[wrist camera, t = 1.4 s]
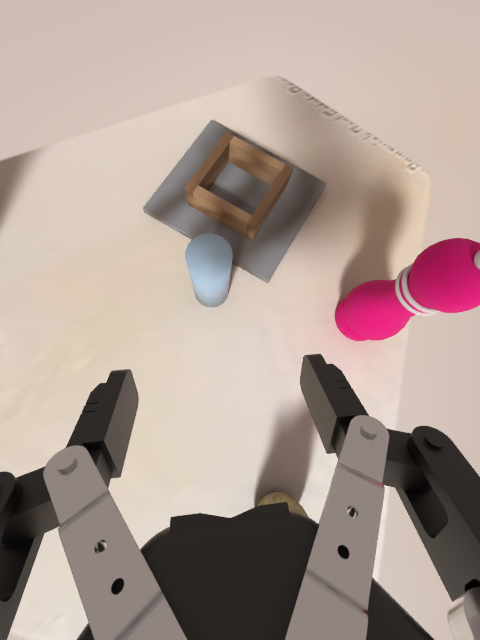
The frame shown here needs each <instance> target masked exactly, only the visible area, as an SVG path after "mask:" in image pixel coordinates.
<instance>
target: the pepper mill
mask: <svg viewBox="0 0 480 640" xmlns="http://www.w3.org/2000/svg"><path fill="white" fill-rule="evenodd" d="M479 305H480V243H478V242H475V241H472V240H469V239H462V238H453V239H448V240H443V241H440V242H438V243H436V244H433V245H431V246H429V247H428V248H427V249H425V250H424V251H423V252H422V253H420V254H419V255H418V256H417V258H416V260H415V261H414V263H413V264H411V265H410V266H408V267H406V268H404V269H403V270H402V271H401V272H400V273H399V275H398V276H397V279H395V280H390V281H388V280H375V281H369V282H365V283H363V284H361V285H359V286H357V287H356V288H354V289H353V290H352V291H351V292H350V293H349V294H348V296H347V298H346V299H344V300H343V301H341V302H340V304H339V305H338V307H337V309H336V312H335V320H336V324H337V326H338V328H339V330H340V331H341V332H342V333H343V334H344V335H345V336H346V337H348V338H350V339H352V340H355V341H364V340H384V339H386V338H389V337H391V336H394V335H395V334H397V333H398V332H399V331H400V330H401V329H402V328H403V327H404V326H405V325H406V324H407V322H408V321H409V319H410V317H412V316H414V315H416V314H417V315H422V316H429V315H433V314H435V313H440V312H445V313H457V312H463V311H467V310H470V309H473V308H475V307H477V306H479Z"/></svg>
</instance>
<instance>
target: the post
mask: <svg viewBox="0 0 480 640" xmlns="http://www.w3.org/2000/svg"><path fill="white" fill-rule="evenodd" d="M232 258H233V253H232V249H231V246H230V245H229V243H228V242H227V241H226V240H225V239H224V238H223V237H221V236H219V235H216V234H211V233H207V234H201V235H199V236H197V237H195V238H194V239H193V240H191V242H190V243H189V244H188V246H187V249H186V261H187V265H188V269H189V273H190V277H191V281H192V284H193V288H194V292H195V296H196V298H197V300H198V301H199V302H200V303H201V304H202V305H204V306H207V307H216V306H219V305H221V304H222V303H223V302H224V301H225V300H226V298H227V296H228V291H229V282H230V274H231V266H232Z"/></svg>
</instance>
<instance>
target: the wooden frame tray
mask: <svg viewBox="0 0 480 640" xmlns="http://www.w3.org/2000/svg"><path fill="white" fill-rule="evenodd" d="M326 184H327V183H325V182H323V181H321V180H319V179H318V178H316V177H314V176H312V175H310V174H308V173H307V172H305V171H303V170H301V169H299V168H298V167H296V166H294V165H292V164H290V163H289V162H287V161H285V160H283V159H281V158H280V157H278V156H276V155H274V154H272V153H270V152H269V151H267V150H265V149H263V148H261V147H260V146H258V145H256V144H254V143H252V142H251V141H249V140H247V139H245V138H243V137H242V136H240V135H238V134H236V133H234V132H232V131H231V130H229V129H227V128H225V127H223V126H222V125H220V124H218V123H216V122H214V121H213V120H211V121H210V122H209V124H208V125H207V126H206V127H205V129H204V130H203V131H202V133H201V134H200V135H199V136H198V138H197V139H196V140H195V142H194V143H193V144H192V146H191V147H190V148H189V149H188V151H187V152H186V153H185V155H184V156H183V157H182V158H181V160H180V161H179V162H178V164H177V165H176V166H175V167H174V169H173V170H172V171H171V173H170V174H169V175H168V176H167V178H166V179H165V180H164V182H163V183H162V184H161V185H160V187H159V188H158V189H157V191H156V192H155V193H154V194H153V196H152V197H151V198H150V200H149V201H148V202H147V203H146V205H145V206H144V207H143V209H144V212H145V213H147V214H148V215H150V216H152V217H154V218H155V219H157V220H159V221H161V222H162V223H164V224H166V225H167V226H169V227H171V228H173V229H174V230H176V231H178V232H180V233H181V234H183V235H185V236H187V237H188V238H190V239H192V240H193V239H194V238H195V237H197V236H199V235H201V234H207V233H211V234H216V235H219V236H221V237H223V238H224V239H225V240H226V241H227V242H228V243H229V245H230V246H231V249H232V253H233V258H232V263H234V264H235V265H237V266H239V267H241V268H242V269H244V270H246V271H247V272H249V273H251V274H253V275H254V276H256V277H258V278H260V279H261V280H263V281H265V282H267V283H268V282H269V281H270V279H271V277H272V275H273V274H274V272H275V270H276V269H277V267H278V265H279V264H280V262H281V260H282V259H283V257H284V255H285V253H286V252H287V250H288V248H289V247H290V245H291V243H292V242H293V240H294V238H295V236H296V235H297V233H298V231H299V230H300V228H301V226H302V225H303V223H304V221H305V220H306V218H307V216H308V214H309V213H310V211H311V209H312V208H313V206H314V204H315V203H316V201H317V199H318V198H319V196H320V194H321V192H322V191H323V189H324V187H325V186H326Z"/></svg>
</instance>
